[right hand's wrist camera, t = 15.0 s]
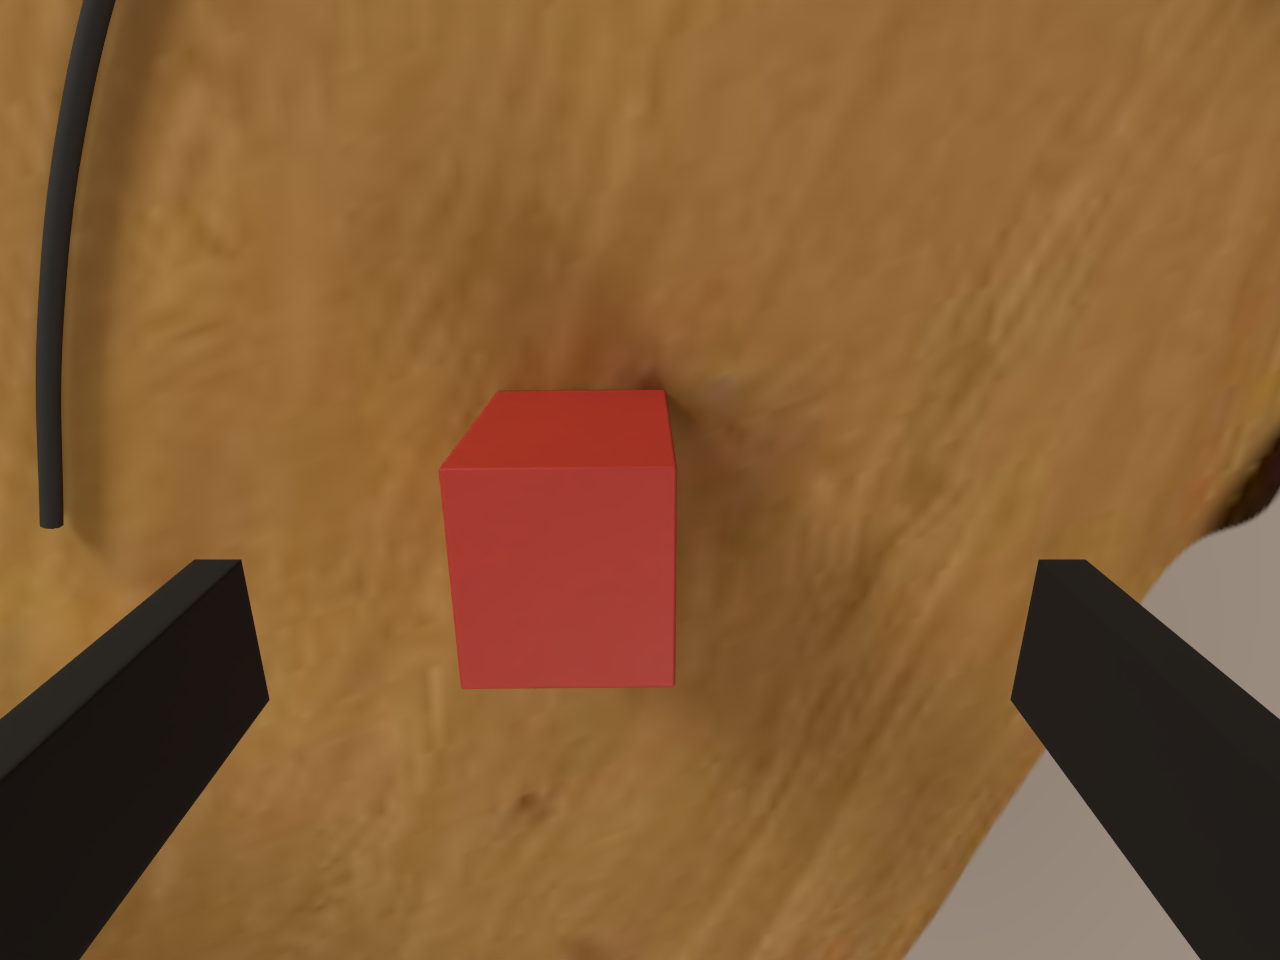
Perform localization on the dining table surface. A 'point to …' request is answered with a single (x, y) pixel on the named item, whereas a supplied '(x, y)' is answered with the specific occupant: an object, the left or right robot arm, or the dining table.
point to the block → (564, 541)
